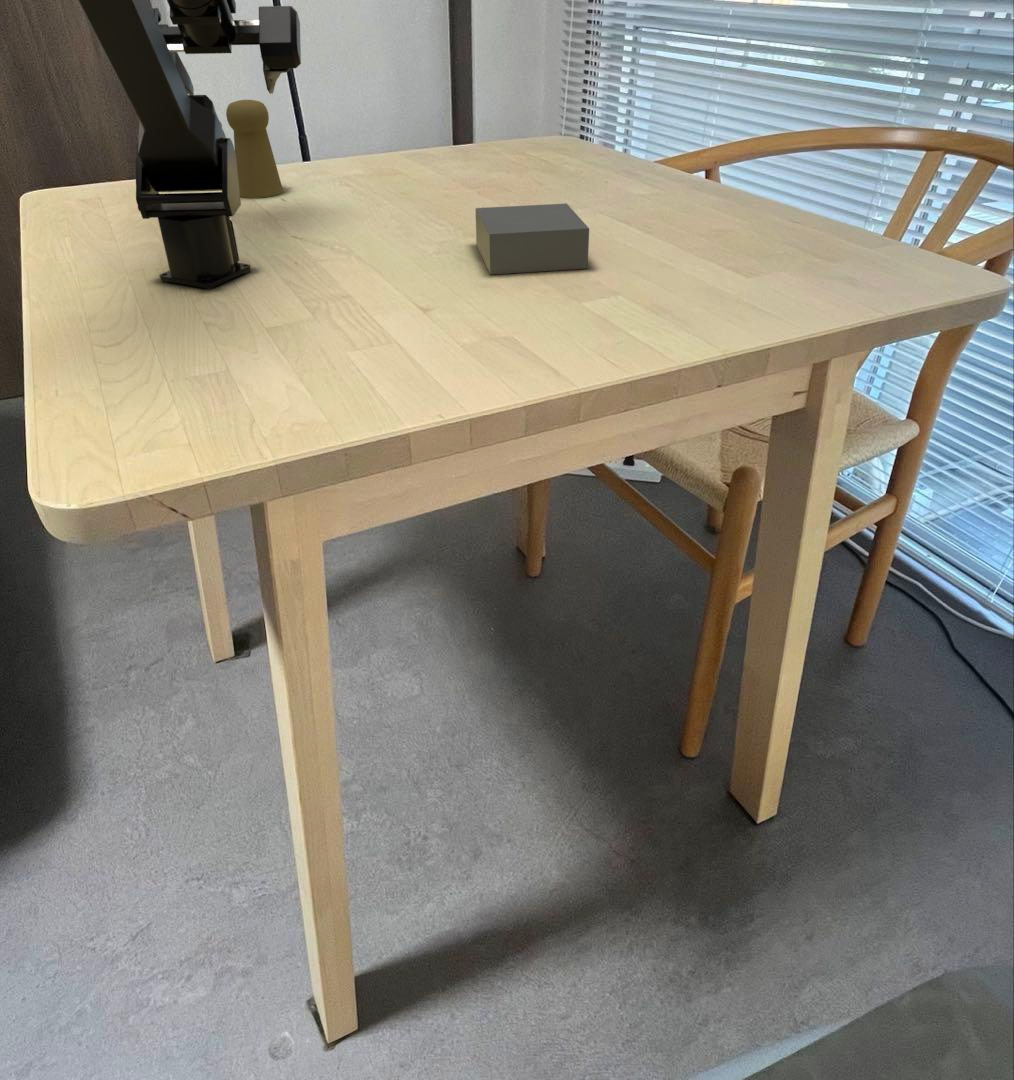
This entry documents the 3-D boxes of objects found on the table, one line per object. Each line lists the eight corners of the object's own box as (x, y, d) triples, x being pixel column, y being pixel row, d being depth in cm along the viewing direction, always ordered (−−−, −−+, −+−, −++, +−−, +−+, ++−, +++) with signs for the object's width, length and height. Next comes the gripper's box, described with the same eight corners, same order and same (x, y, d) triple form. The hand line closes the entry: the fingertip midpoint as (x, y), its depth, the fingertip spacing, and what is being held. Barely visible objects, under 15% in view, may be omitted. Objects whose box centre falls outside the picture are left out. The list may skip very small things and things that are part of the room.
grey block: (490, 274, 86) (489, 233, 84) (476, 246, 94) (475, 207, 92) (587, 268, 88) (589, 228, 85) (565, 240, 96) (567, 203, 93)
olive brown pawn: (286, 195, 114) (273, 102, 108) (240, 199, 112) (223, 105, 106) (279, 185, 118) (265, 95, 112) (234, 189, 117) (217, 98, 110)
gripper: (283, -86, 88) (310, 29, 104) (96, -85, 87) (151, 31, 103) (285, 9, 87) (312, 112, 102) (94, 12, 85) (150, 116, 101)
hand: (231, 90), depth 102 cm, fingers open, 9 cm apart
